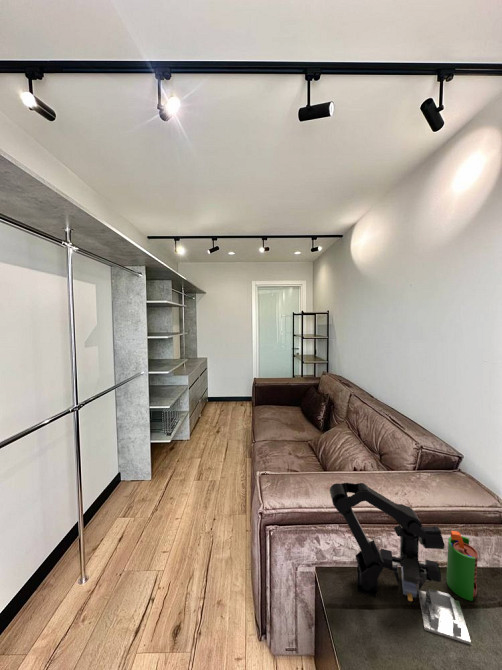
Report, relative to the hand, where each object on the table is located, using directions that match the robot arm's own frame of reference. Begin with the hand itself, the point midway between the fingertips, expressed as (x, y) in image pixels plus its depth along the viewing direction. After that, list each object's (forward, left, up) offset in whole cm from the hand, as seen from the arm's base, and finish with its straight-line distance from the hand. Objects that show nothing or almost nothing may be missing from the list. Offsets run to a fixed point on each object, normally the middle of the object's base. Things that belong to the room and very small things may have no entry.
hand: (408, 585), depth 107 cm
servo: (0, 0, -1) cm, 1 cm away
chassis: (+9, -7, -1) cm, 11 cm away
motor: (+18, +7, -1) cm, 19 cm away
